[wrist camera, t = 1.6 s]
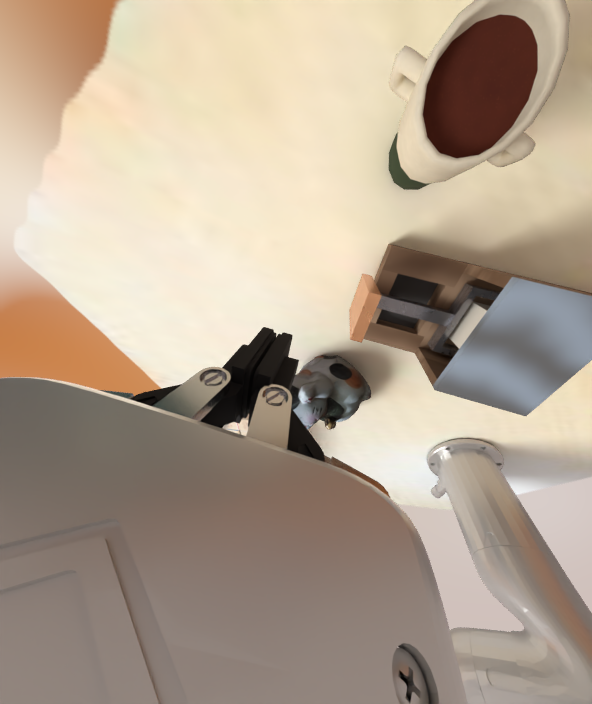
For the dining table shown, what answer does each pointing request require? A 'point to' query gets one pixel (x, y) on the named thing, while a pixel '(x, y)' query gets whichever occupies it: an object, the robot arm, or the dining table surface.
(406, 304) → the sled
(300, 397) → the lucky cat figurine
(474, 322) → the block
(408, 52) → the character mug
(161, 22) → the dining table surface
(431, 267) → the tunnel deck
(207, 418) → the robot arm
